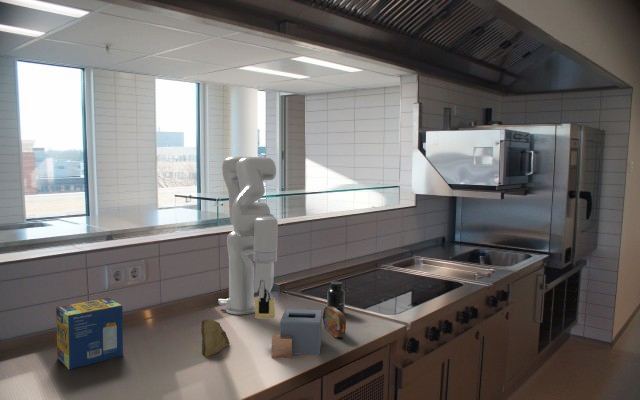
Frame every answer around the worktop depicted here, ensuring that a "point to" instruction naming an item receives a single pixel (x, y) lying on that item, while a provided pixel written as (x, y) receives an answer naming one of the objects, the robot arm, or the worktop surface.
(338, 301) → the supplement bottle
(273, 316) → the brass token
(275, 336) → the brown wooden square slab
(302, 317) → the blue-grey block with hole
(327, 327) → the tin
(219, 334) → the rock
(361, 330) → the worktop surface
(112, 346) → the protein box
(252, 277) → the robot arm
